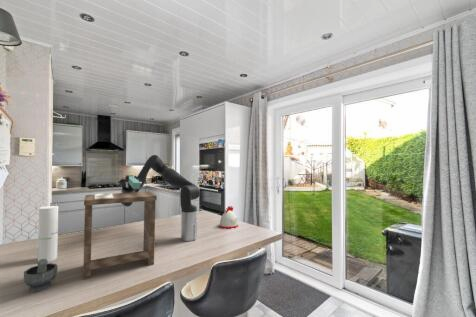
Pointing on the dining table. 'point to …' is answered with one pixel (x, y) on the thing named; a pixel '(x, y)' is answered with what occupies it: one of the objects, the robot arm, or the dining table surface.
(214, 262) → the dining table surface
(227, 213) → the kitchen timer
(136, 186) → the teal square bar
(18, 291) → the dining table surface
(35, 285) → the mortar and pestle
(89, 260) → the stand
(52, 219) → the cylindrical container
